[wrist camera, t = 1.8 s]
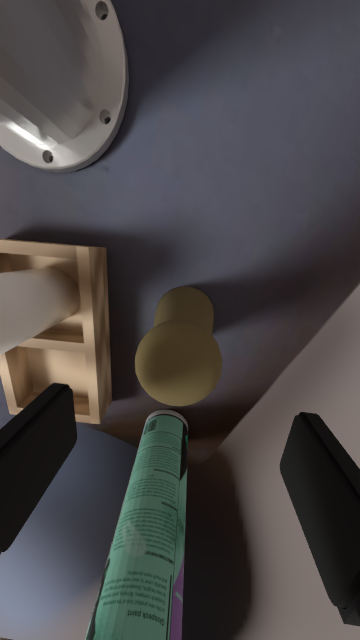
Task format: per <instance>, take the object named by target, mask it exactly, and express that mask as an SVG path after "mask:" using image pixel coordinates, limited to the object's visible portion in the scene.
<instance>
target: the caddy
mask: <svg viewBox="0 0 360 640" xmlns="http://www.w3.org/2000/svg"><path fill="white" fill-rule="evenodd" d="M44 267H53V268H57V269H60V270H62V271H64V272H65V273H67V274H68V275H69V276H70V277H71V278H72V279H73V280H74V282H75V283H76V285H77V287H78V289H79V293H80V304H79V307H78V309H77V311H76V312H75V313H74V314H73V315H72V316H70V317H69V318H67V319H65V320H63V321H61V322H59V323H58V324H56V325H54V326H52V327H50V328H49V329H47V330H45V331H43V332H41V333H39V334H38V335H36V336H34V337H32V338H30V339H28V340H27V341H25V342H23V343H21V344H19V345H18V346H16V347H14V348H12V349H10V350H8V351H7V352H5V353H3V354H1V355H0V375H1V379H2V383H3V388H4V392H5V396H6V400H7V404H8V408H9V412H10V414H16V415H17V414H18V413H19V412H20V411H22V410H23V409H24V408H25V407H26V406H27V405H28V404H29V403H31V402H32V401H33V400H34V399H35V398H36V397H37V396H38V395H39V394H41V393H42V392H43V391H44V390H45V389H46V388H47V387H48V386H50V385H51V384H52V383H62V384H68V385H69V387H70V388H72V390H73V398H74V409H75V419H76V422H85V423H93V424H100V423H101V421H102V419H103V417H104V415H105V414H106V412H107V410H108V408H109V406H110V404H111V402H112V388H111V361H110V334H109V307H108V279H107V252H106V248H105V247H93V246H81V245H70V244H58V243H46V242H35V241H23V240H11V239H0V273H4V272H12V271H20V270H28V269H36V268H44Z"/></svg>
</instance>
